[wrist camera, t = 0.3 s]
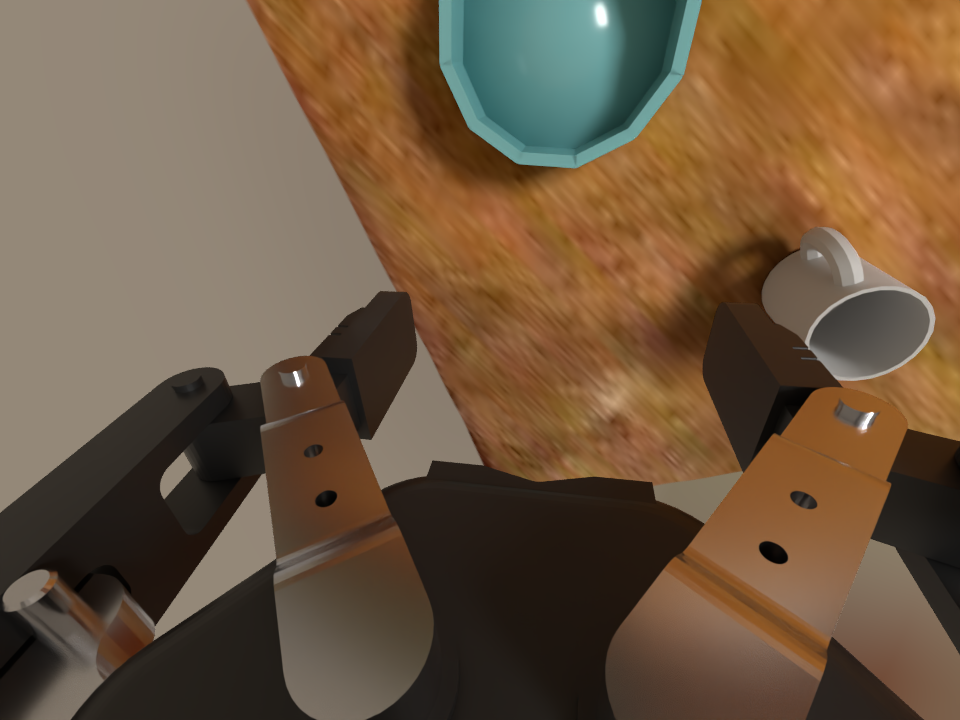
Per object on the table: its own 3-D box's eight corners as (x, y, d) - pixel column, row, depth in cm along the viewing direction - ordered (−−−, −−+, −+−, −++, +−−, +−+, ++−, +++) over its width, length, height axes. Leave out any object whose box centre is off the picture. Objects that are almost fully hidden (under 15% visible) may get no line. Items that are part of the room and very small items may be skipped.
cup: (766, 334, 40) (811, 392, 32) (745, 232, 36) (791, 272, 28) (862, 307, 37) (935, 363, 30) (852, 193, 33) (934, 226, 25)
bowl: (455, -122, 28) (437, -154, 24) (716, -125, 26) (740, -160, 22) (453, 150, 36) (440, 158, 32) (649, 164, 34) (659, 174, 30)
